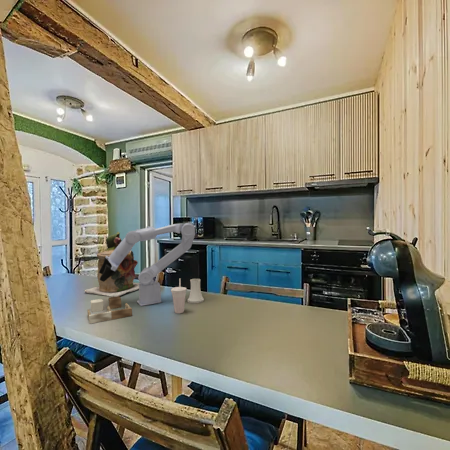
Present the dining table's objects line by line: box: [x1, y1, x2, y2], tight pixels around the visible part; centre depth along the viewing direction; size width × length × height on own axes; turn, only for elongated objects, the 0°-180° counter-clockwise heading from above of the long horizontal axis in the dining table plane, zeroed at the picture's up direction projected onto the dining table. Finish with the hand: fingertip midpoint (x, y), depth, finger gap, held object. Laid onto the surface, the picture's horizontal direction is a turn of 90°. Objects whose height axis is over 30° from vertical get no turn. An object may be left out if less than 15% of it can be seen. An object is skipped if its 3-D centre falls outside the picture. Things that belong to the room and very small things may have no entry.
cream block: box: [90, 298, 104, 313], centre depth 118 cm, size 4×4×4 cm
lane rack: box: [86, 302, 133, 325], centre depth 111 cm, size 15×10×3 cm, turn 120°
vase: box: [187, 278, 205, 304], centre depth 129 cm, size 8×8×10 cm
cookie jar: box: [83, 231, 139, 297], centre depth 151 cm, size 25×25×32 cm
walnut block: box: [108, 295, 122, 310], centre depth 122 cm, size 4×4×4 cm
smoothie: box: [170, 278, 188, 314], centre depth 114 cm, size 6×6×14 cm
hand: (101, 276), depth 124 cm, fingers open, 7 cm apart
